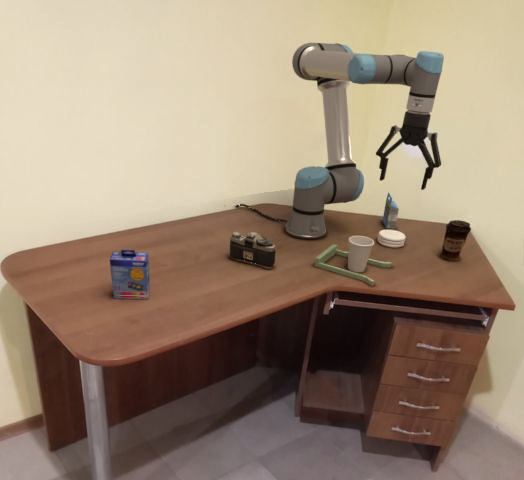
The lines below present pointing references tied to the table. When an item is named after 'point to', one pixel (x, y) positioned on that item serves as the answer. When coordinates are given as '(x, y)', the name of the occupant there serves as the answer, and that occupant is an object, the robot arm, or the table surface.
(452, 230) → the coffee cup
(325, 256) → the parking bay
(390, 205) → the label tape box
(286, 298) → the table surface
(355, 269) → the dixie cup
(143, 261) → the ink cartridge box
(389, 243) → the coaster
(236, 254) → the camera
